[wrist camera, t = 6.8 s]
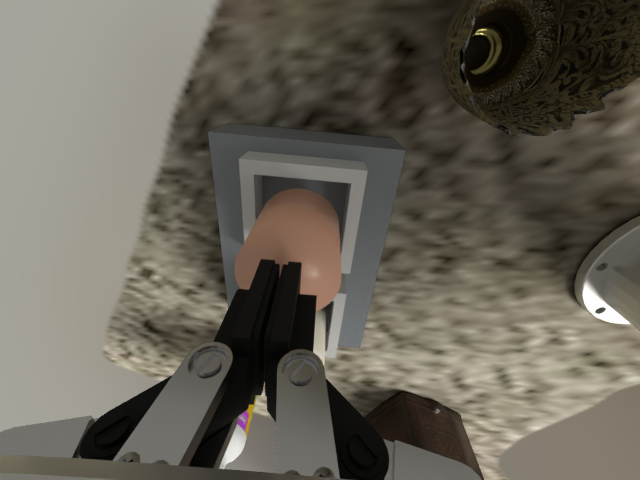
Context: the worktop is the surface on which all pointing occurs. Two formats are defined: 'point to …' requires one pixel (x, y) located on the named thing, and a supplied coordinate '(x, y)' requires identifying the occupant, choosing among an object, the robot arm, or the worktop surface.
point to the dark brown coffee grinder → (424, 427)
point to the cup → (541, 60)
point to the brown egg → (296, 242)
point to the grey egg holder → (323, 178)
